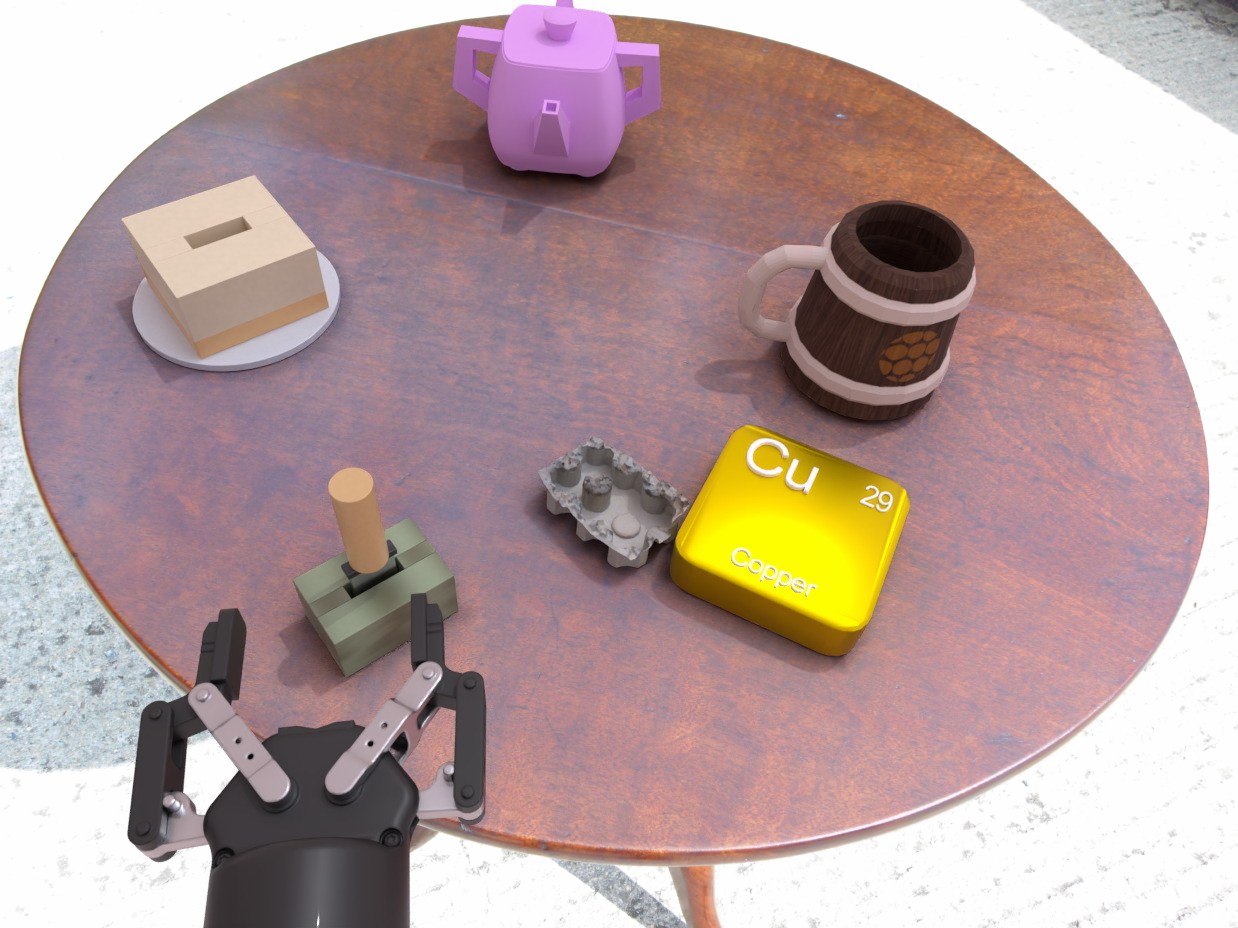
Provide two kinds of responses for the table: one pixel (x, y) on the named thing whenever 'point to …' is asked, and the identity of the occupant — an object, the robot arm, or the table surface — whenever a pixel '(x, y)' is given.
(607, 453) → the egg carton
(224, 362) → the plate
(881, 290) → the mug
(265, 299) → the wooden slotted box
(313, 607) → the knife block
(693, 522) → the element tile
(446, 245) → the table surface
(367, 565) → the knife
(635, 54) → the teapot
